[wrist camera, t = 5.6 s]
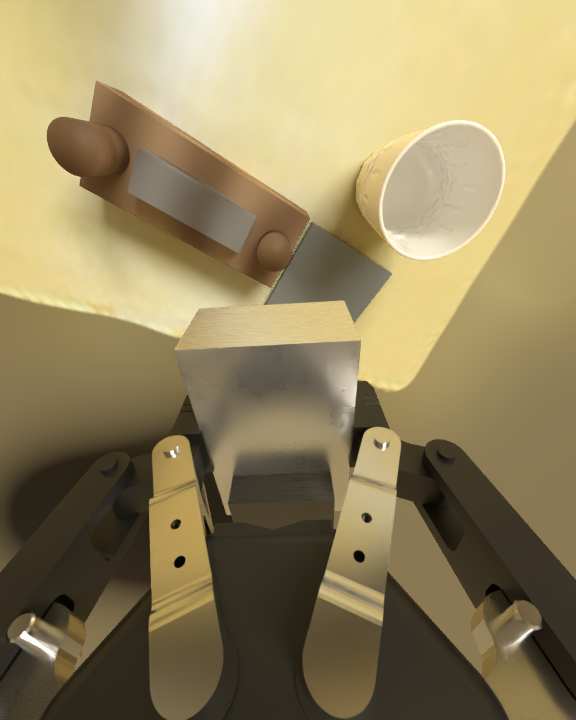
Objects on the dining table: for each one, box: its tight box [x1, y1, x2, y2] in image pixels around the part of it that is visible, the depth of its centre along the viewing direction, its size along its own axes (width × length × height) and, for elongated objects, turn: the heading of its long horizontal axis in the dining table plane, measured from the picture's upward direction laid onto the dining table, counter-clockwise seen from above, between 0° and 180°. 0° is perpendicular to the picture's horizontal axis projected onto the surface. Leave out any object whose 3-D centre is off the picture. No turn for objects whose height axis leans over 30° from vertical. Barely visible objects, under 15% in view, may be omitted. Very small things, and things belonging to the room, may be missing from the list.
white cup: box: [356, 120, 505, 261], centre depth 23 cm, size 8×8×10 cm
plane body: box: [47, 81, 310, 288], centre depth 24 cm, size 17×7×8 cm, turn 60°
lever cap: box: [174, 301, 361, 529], centre depth 12 cm, size 9×6×4 cm, turn 3°
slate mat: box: [265, 222, 392, 322], centre depth 32 cm, size 10×10×1 cm
